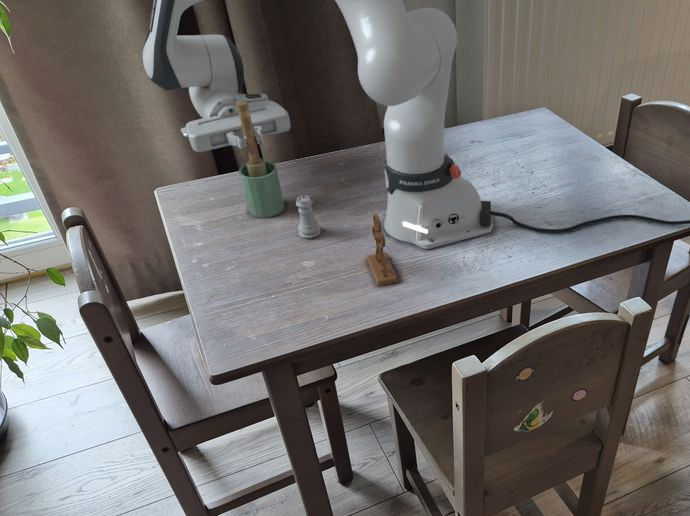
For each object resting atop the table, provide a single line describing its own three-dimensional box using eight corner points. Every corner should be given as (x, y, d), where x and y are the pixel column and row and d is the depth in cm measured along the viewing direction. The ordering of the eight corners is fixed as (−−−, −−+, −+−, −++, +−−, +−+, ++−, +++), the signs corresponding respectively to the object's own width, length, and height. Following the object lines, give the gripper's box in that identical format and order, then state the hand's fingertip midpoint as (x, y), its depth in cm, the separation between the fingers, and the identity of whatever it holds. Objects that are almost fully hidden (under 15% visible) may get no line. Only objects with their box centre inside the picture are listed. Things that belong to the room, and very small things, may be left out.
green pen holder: (283, 197, 138) (275, 158, 132) (285, 214, 133) (277, 175, 127) (248, 201, 137) (238, 162, 130) (249, 219, 131) (239, 180, 125)
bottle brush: (269, 179, 133) (251, 98, 121) (269, 187, 130) (251, 106, 118) (251, 181, 132) (231, 100, 120) (251, 189, 129) (231, 107, 118)
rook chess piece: (299, 240, 126) (292, 205, 121) (298, 228, 129) (291, 193, 124) (321, 238, 127) (315, 202, 121) (320, 226, 130) (314, 191, 124)
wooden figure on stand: (366, 259, 122) (360, 204, 113) (386, 255, 123) (381, 200, 114) (377, 286, 116) (371, 230, 107) (398, 282, 117) (393, 226, 108)
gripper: (173, 113, 126) (194, 139, 117) (272, 91, 134) (297, 115, 126) (182, 143, 130) (203, 171, 122) (277, 120, 138) (303, 145, 130)
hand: (252, 142), depth 124 cm, fingers closed on bottle brush, 2 cm apart
